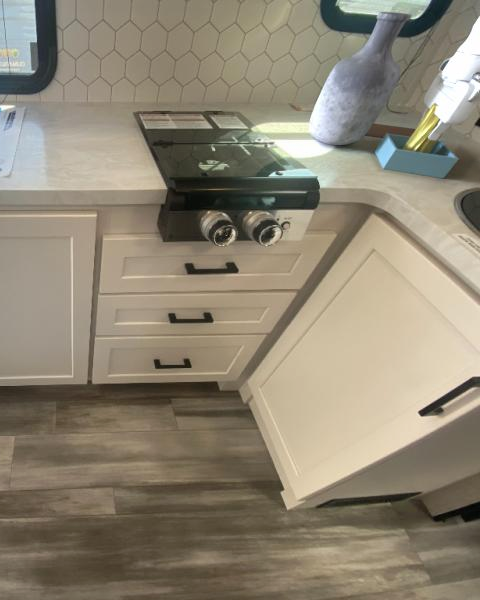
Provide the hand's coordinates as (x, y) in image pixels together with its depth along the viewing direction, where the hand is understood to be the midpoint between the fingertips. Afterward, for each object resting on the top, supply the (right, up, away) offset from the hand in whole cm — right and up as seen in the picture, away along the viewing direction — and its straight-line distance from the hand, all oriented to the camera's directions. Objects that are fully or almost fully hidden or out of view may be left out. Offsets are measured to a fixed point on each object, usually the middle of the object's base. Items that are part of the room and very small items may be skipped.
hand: (426, 133), depth 87 cm
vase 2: (0, -6, +5) cm, 8 cm away
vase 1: (-13, +5, +16) cm, 21 cm away
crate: (0, -6, +5) cm, 8 cm away
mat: (+11, +12, +24) cm, 29 cm away
